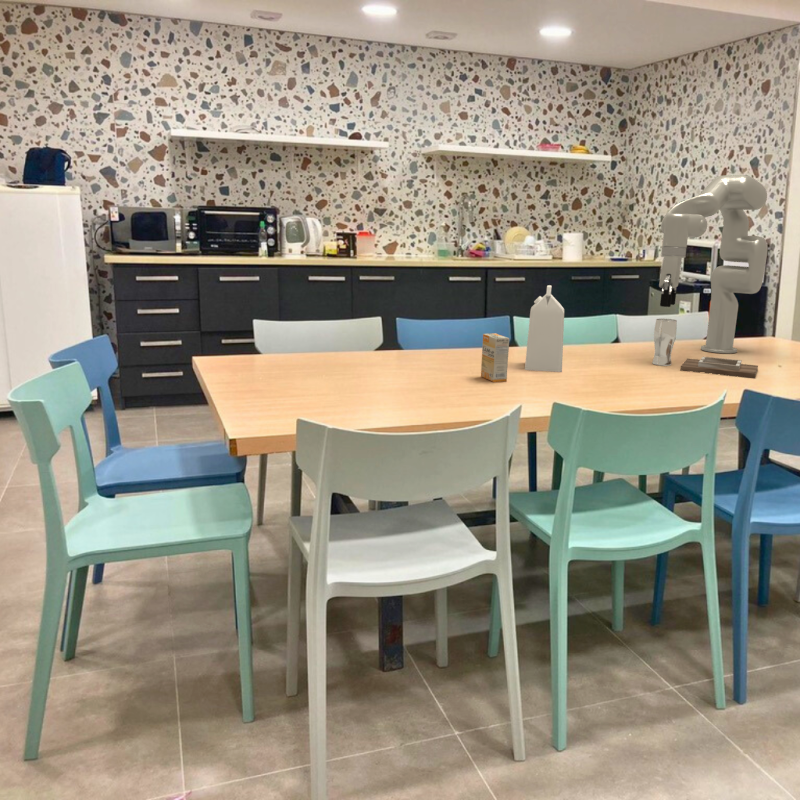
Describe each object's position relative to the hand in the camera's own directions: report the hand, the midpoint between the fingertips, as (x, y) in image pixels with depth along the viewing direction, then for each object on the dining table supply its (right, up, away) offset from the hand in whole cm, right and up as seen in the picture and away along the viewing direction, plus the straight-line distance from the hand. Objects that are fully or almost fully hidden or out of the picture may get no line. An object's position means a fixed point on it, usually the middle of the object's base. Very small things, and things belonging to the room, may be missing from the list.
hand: (667, 305), depth 250 cm
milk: (-42, -21, -6) cm, 47 cm away
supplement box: (-61, -25, -26) cm, 71 cm away
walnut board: (+16, -21, -3) cm, 27 cm away
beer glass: (0, -19, +5) cm, 20 cm away
